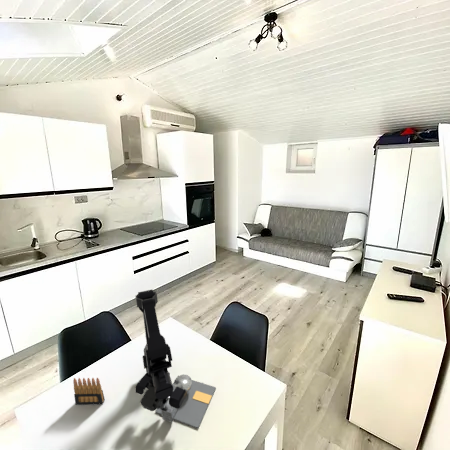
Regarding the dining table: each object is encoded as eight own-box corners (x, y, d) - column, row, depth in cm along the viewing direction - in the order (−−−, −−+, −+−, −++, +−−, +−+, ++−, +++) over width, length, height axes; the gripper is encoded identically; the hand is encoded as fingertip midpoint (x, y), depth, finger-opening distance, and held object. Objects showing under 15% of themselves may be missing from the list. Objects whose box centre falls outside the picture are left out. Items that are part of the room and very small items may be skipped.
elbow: (179, 380, 105) (179, 372, 104) (194, 384, 103) (194, 376, 102) (158, 418, 90) (157, 408, 89) (175, 423, 88) (175, 414, 87)
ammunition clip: (104, 400, 98) (100, 375, 95) (102, 404, 96) (98, 379, 93) (78, 400, 98) (73, 376, 95) (75, 404, 96) (70, 380, 93)
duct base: (155, 412, 93) (154, 406, 92) (178, 376, 108) (177, 371, 108) (198, 428, 87) (197, 422, 86) (215, 388, 103) (215, 382, 102)
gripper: (122, 385, 84) (126, 420, 88) (169, 403, 77) (172, 440, 81) (143, 361, 94) (146, 393, 98) (186, 375, 88) (188, 409, 91)
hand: (162, 408), depth 92 cm, fingers closed
